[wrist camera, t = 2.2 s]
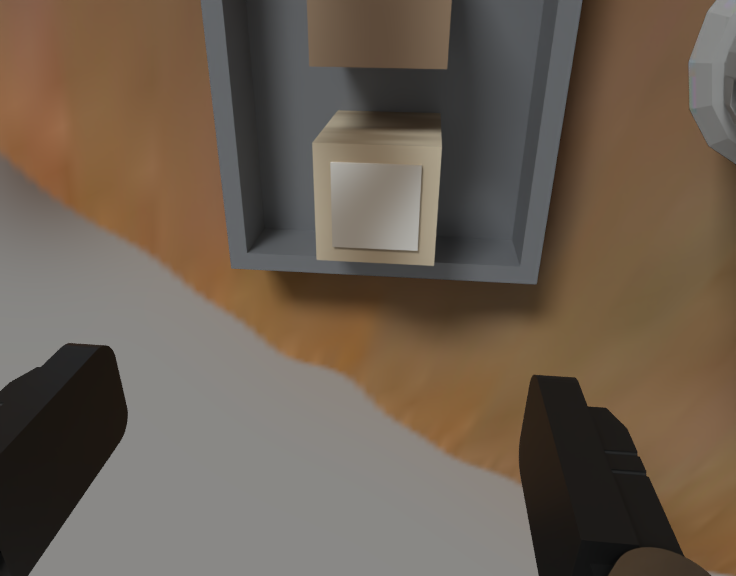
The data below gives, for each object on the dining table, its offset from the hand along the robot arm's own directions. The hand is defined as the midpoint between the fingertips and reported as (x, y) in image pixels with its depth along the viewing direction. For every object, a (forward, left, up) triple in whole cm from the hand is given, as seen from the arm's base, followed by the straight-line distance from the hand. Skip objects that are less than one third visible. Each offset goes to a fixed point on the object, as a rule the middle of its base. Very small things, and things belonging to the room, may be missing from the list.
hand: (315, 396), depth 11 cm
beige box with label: (0, 0, -17) cm, 17 cm away
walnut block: (0, -7, -17) cm, 18 cm away
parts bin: (0, -3, -18) cm, 18 cm away
